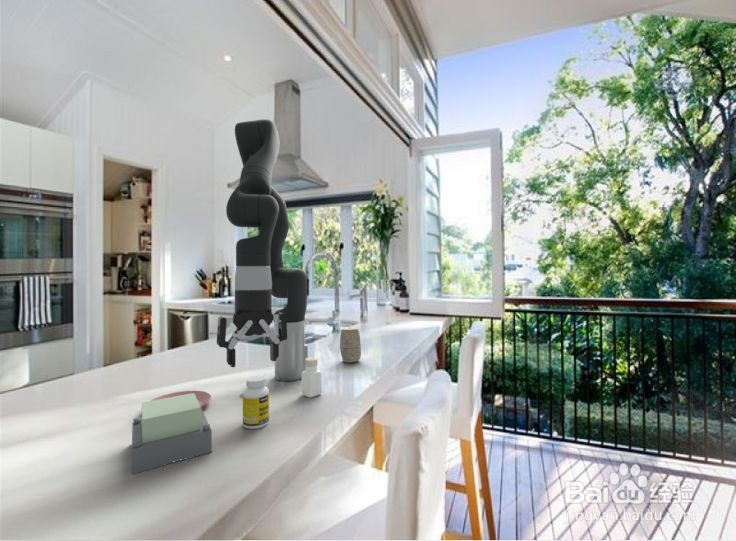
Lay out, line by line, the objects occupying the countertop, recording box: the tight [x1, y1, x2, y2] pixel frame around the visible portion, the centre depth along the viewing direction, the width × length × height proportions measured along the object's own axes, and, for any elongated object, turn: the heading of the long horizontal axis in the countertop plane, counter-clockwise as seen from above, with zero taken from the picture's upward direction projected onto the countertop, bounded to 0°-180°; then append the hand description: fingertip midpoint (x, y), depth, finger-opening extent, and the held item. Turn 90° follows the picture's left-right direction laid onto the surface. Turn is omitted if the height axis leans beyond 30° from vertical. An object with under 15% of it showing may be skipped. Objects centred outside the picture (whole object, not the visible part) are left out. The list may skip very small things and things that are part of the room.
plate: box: [149, 390, 212, 410], centre depth 83 cm, size 14×14×2 cm
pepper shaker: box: [301, 356, 323, 399], centre depth 92 cm, size 4×4×10 cm
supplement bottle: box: [242, 375, 270, 430], centre depth 75 cm, size 5×5×10 cm
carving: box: [339, 326, 362, 364], centre depth 124 cm, size 6×8×12 cm
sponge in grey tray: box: [131, 393, 213, 475], centre depth 65 cm, size 12×12×8 cm
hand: (253, 363), depth 74 cm, fingers open, 8 cm apart
